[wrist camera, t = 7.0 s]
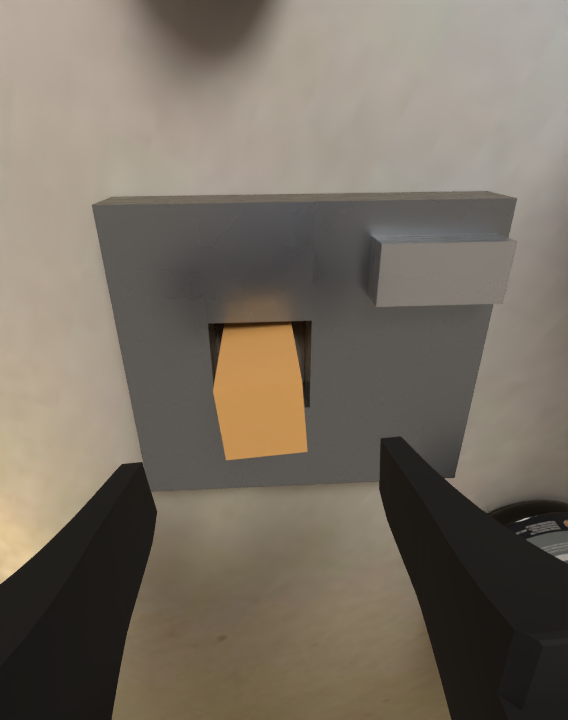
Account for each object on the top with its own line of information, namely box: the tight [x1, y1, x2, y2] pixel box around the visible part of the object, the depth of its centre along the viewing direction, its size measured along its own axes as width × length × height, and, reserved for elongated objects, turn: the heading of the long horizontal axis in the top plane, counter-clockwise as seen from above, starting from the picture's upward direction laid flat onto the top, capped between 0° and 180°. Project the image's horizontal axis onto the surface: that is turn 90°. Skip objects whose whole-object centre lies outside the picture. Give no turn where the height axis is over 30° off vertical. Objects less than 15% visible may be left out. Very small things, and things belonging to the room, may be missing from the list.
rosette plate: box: [92, 191, 517, 491], centre depth 20 cm, size 16×14×4 cm
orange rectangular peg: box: [213, 321, 308, 460], centre depth 18 cm, size 3×3×7 cm
